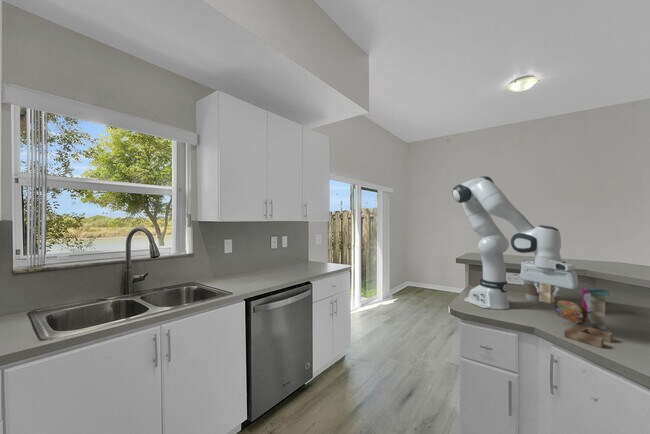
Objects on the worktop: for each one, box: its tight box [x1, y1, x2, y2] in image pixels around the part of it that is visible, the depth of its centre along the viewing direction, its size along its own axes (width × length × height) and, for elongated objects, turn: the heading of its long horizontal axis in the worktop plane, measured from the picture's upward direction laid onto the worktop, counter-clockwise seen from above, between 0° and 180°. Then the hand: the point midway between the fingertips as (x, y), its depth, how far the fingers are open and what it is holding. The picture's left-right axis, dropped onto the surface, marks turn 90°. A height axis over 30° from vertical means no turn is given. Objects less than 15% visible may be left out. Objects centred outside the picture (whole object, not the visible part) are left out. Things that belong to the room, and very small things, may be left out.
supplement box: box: [582, 287, 591, 314], centre depth 142 cm, size 6×6×12 cm
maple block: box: [539, 283, 556, 304], centre depth 121 cm, size 4×4×8 cm
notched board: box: [564, 323, 614, 349], centre depth 111 cm, size 11×12×3 cm
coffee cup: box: [523, 280, 542, 303], centre depth 161 cm, size 11×11×15 cm
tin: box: [554, 299, 589, 324], centre depth 131 cm, size 15×3×8 cm, turn 1°
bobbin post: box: [585, 287, 610, 332], centre depth 117 cm, size 7×7×18 cm
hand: (546, 294), depth 121 cm, fingers closed on maple block, 4 cm apart
